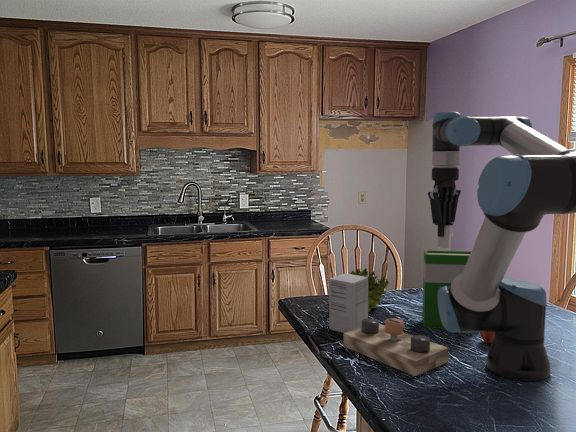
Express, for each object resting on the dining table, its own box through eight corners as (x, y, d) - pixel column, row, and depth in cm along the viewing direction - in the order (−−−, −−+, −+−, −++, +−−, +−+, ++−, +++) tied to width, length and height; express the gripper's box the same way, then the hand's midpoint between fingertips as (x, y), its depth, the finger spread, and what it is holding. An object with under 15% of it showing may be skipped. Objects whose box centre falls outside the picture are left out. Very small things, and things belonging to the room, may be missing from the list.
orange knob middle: (406, 345, 143) (407, 320, 142) (394, 350, 140) (395, 324, 139) (392, 340, 147) (393, 316, 146) (381, 344, 144) (381, 320, 143)
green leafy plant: (333, 288, 195) (362, 260, 197) (362, 319, 192) (392, 289, 194) (336, 285, 177) (369, 253, 179) (368, 318, 174) (401, 286, 176)
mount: (448, 362, 138) (448, 347, 137) (415, 376, 129) (415, 361, 129) (376, 335, 158) (376, 323, 158) (343, 346, 150) (343, 333, 149)
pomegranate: (483, 344, 156) (469, 330, 151) (495, 324, 157) (481, 309, 152) (504, 354, 150) (490, 341, 145) (517, 333, 151) (503, 319, 146)
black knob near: (433, 364, 136) (434, 339, 136) (421, 369, 133) (422, 343, 132) (418, 358, 140) (418, 333, 139) (406, 363, 137) (406, 338, 136)
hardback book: (477, 322, 169) (479, 251, 166) (481, 330, 162) (484, 256, 159) (422, 320, 172) (424, 250, 169) (424, 327, 165) (426, 254, 162)
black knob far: (382, 344, 150) (382, 321, 150) (370, 348, 147) (370, 325, 147) (369, 339, 154) (369, 317, 154) (358, 343, 151) (358, 320, 150)
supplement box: (344, 321, 172) (344, 272, 169) (368, 327, 166) (369, 276, 164) (328, 329, 164) (328, 278, 162) (352, 335, 158) (353, 282, 156)
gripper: (447, 165, 154) (445, 243, 157) (420, 167, 146) (418, 248, 149) (469, 166, 148) (467, 246, 151) (442, 167, 140) (440, 252, 143)
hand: (443, 247), depth 150 cm, fingers closed
